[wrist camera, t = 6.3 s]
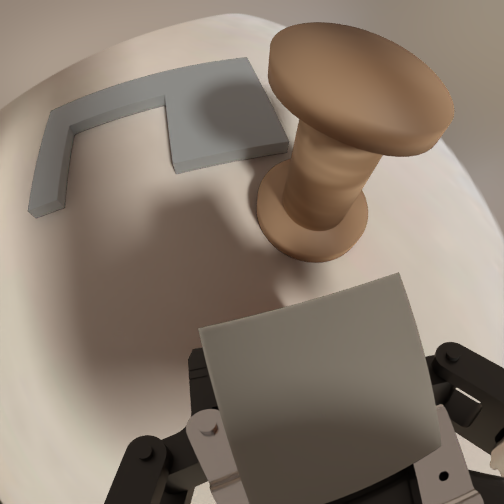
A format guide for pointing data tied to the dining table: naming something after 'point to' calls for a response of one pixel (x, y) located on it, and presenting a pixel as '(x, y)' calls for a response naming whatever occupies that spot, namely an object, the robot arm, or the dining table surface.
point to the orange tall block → (323, 393)
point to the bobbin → (342, 131)
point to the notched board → (179, 122)
